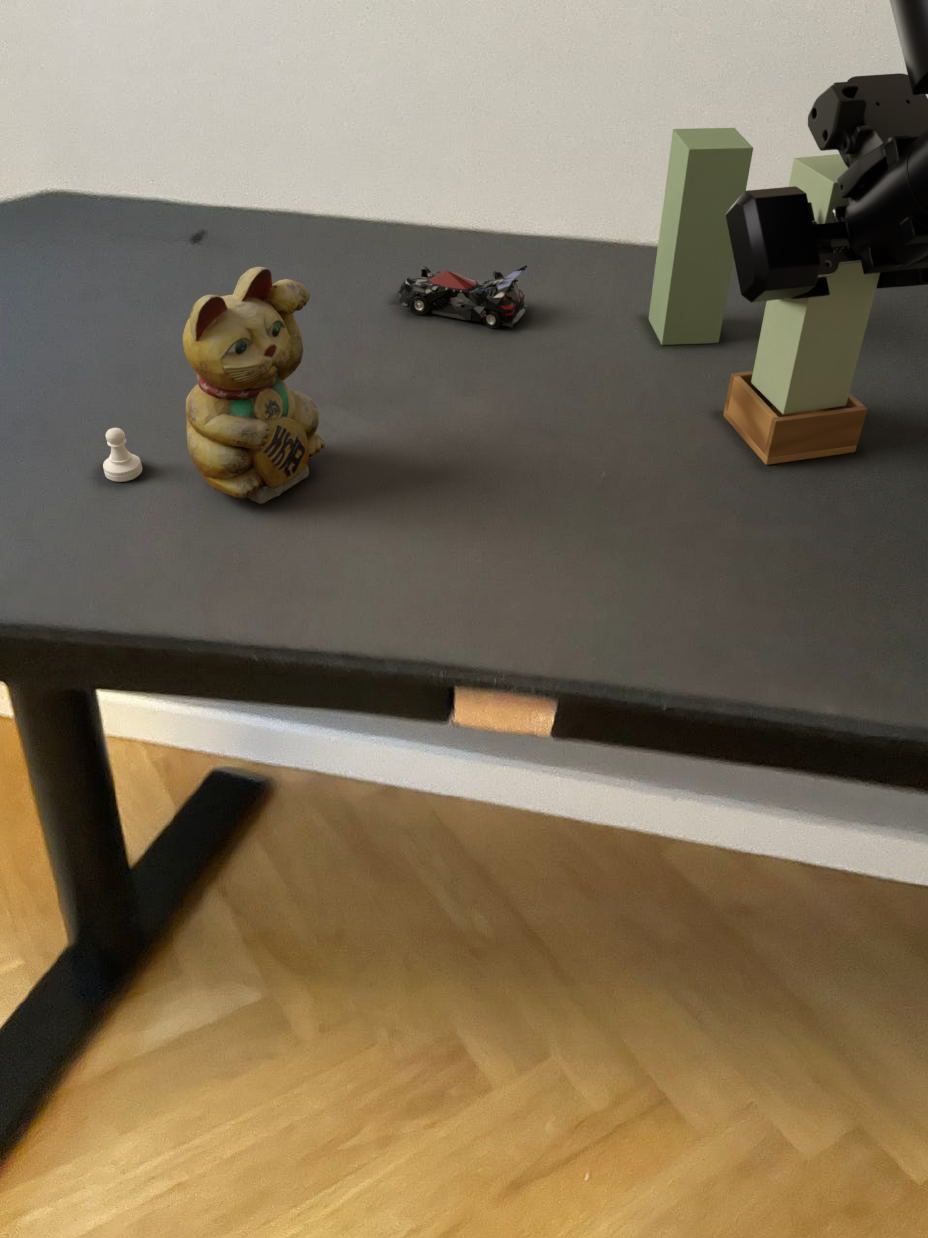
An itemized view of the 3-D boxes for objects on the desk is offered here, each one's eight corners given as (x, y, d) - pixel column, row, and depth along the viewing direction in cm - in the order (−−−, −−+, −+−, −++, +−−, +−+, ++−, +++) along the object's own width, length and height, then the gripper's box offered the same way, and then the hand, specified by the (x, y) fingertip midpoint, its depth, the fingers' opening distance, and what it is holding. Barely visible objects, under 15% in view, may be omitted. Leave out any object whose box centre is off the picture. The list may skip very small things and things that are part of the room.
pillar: (703, 317, 95) (734, 127, 84) (718, 342, 91) (753, 147, 81) (648, 319, 94) (672, 128, 84) (661, 345, 91) (689, 148, 80)
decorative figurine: (254, 528, 70) (221, 314, 60) (162, 490, 74) (117, 281, 64) (342, 461, 76) (326, 257, 67) (253, 429, 80) (225, 229, 70)
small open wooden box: (855, 452, 78) (868, 408, 76) (765, 465, 77) (775, 421, 74) (807, 404, 83) (817, 362, 81) (722, 415, 82) (730, 373, 80)
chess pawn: (127, 458, 77) (117, 415, 74) (150, 471, 75) (140, 427, 73) (97, 473, 75) (86, 430, 73) (120, 486, 74) (109, 443, 72)
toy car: (509, 335, 92) (510, 289, 89) (382, 311, 95) (380, 267, 93) (531, 306, 96) (534, 262, 94) (410, 285, 99) (409, 242, 97)
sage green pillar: (846, 405, 76) (905, 175, 66) (783, 415, 75) (833, 182, 65) (811, 374, 80) (862, 151, 70) (750, 382, 79) (793, 157, 69)
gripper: (1068, 26, 61) (906, 165, 76) (771, 44, 57) (663, 186, 72) (1109, 214, 60) (938, 316, 75) (811, 244, 56) (694, 344, 72)
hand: (810, 287), depth 74 cm, fingers closed on sage green pillar, 5 cm apart
